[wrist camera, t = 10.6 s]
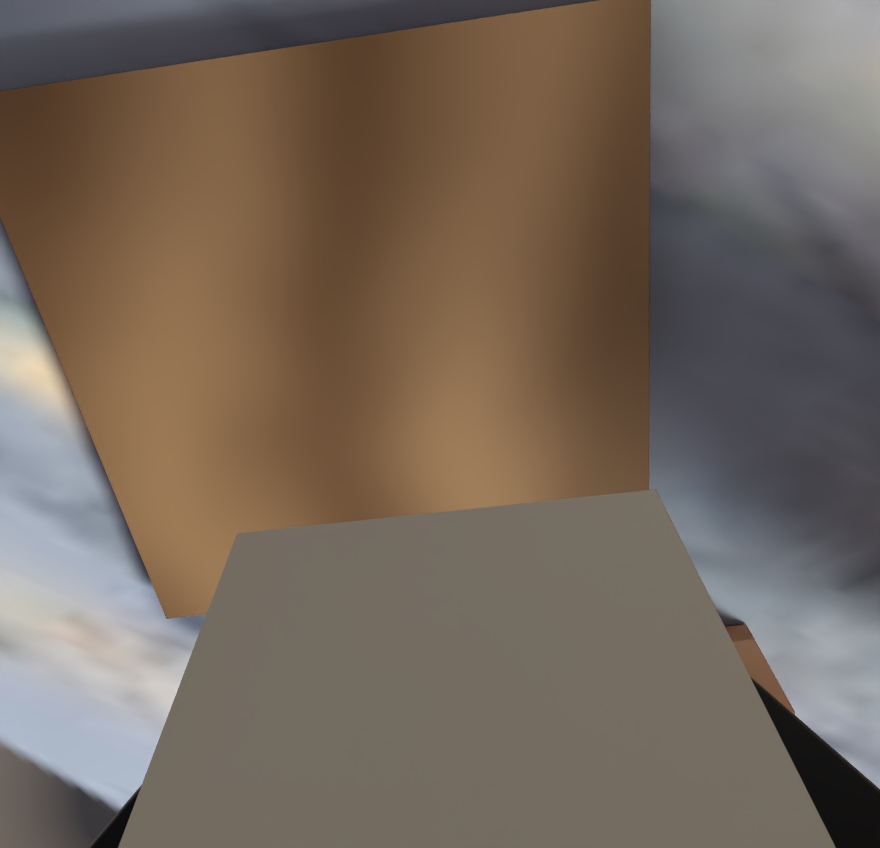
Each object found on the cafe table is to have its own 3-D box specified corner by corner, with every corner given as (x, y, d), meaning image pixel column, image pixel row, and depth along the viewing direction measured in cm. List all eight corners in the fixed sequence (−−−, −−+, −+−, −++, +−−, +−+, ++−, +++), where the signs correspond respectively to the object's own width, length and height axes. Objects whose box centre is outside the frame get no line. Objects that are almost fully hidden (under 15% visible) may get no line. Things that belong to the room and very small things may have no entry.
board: (635, -6, 14) (650, -8, 13) (638, 536, 20) (648, 559, 19) (-21, 94, 15) (-50, 98, 14) (177, 593, 21) (166, 619, 20)
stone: (656, 488, 7) (897, 971, 3) (648, 769, 9) (797, 1264, 5) (238, 533, 7) (48, 1034, 4) (318, 798, 9) (246, 1299, 5)
